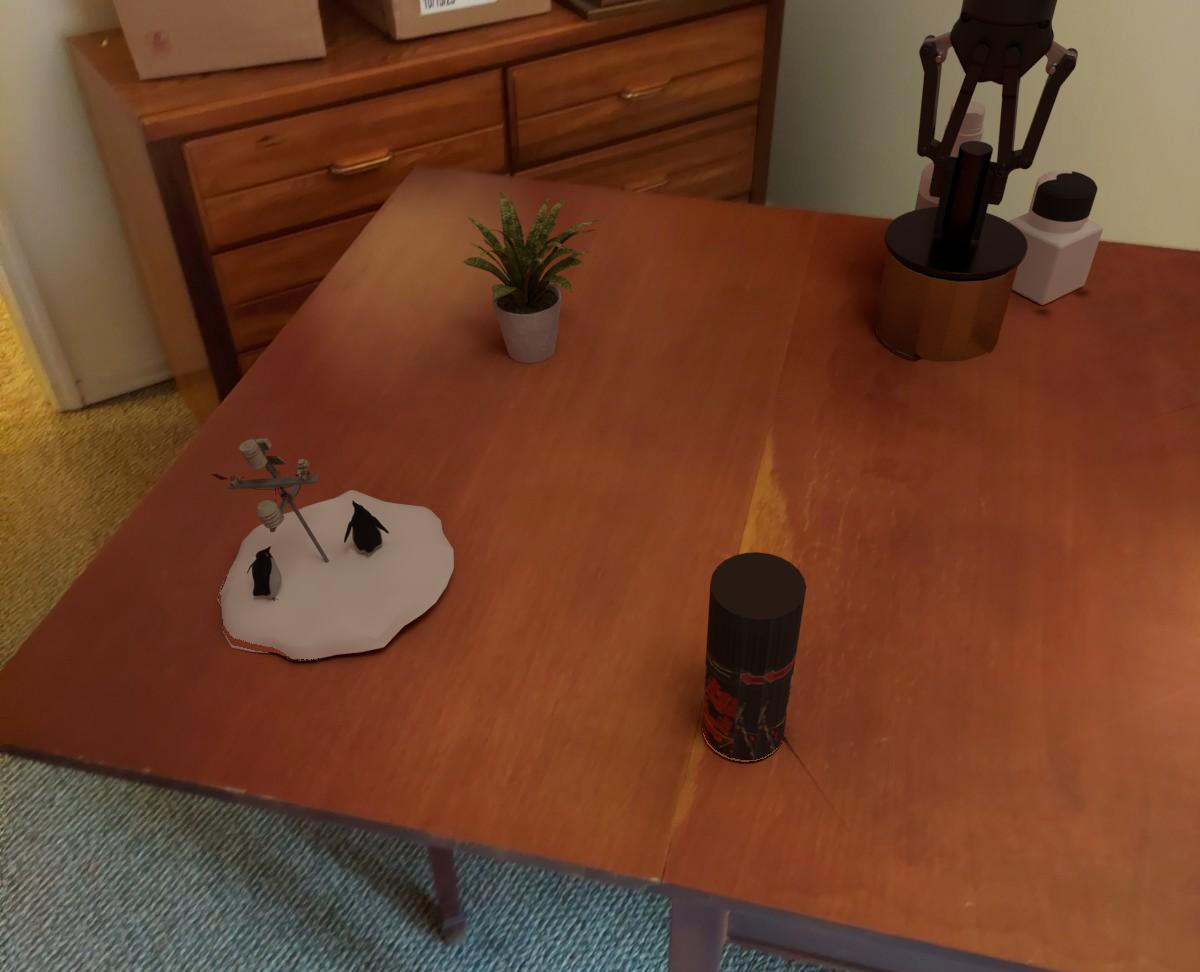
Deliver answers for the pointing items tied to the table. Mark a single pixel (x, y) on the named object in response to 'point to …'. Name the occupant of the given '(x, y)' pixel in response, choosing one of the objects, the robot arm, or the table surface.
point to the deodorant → (750, 654)
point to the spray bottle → (968, 132)
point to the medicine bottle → (1057, 237)
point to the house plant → (528, 280)
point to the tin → (939, 313)
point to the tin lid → (958, 228)
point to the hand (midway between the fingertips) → (957, 230)
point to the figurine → (330, 568)
